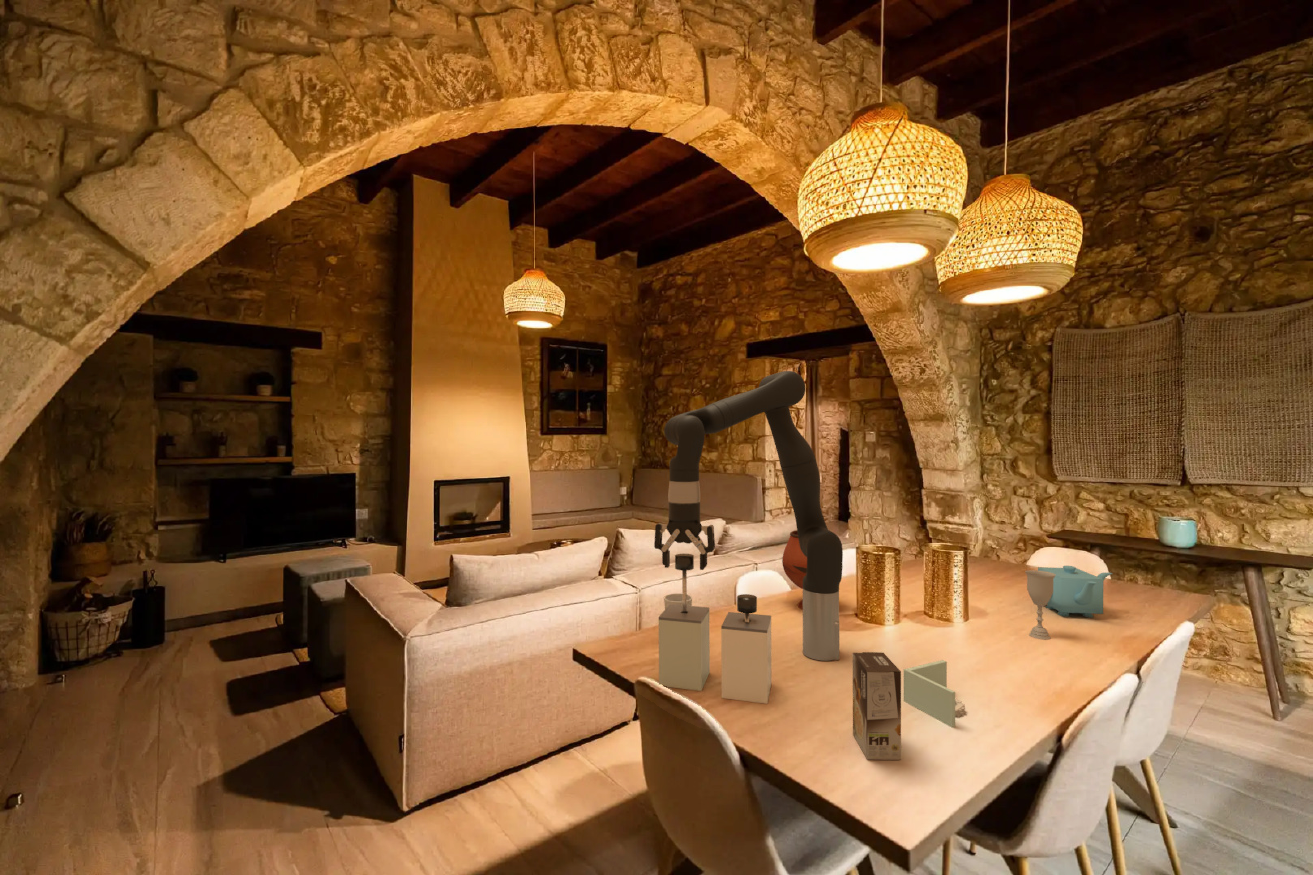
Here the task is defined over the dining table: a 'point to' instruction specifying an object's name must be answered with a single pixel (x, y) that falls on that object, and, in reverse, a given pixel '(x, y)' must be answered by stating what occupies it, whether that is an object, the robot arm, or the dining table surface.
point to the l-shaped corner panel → (932, 692)
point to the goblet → (795, 562)
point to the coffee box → (877, 706)
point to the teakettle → (1076, 591)
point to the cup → (676, 599)
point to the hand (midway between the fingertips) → (684, 568)
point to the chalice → (1040, 597)
